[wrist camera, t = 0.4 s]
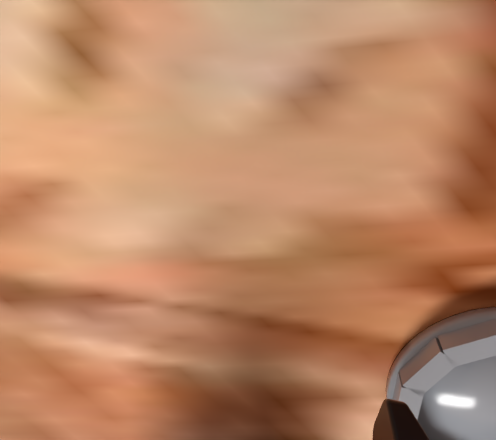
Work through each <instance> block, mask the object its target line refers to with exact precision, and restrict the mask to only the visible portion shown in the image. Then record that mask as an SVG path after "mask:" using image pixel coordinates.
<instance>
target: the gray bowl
mask: <svg viewBox="0 0 496 440" xmlns="http://www.w3.org/2000/svg"><path fill="white" fill-rule="evenodd" d="M386 399H393V400H397V401H402V402H404V403H406V404H407V405H408V406H409V408H410V410H411V411H412V413H413V414H414V416H415V417H416V419H417V421H418V422H419V424H420V425H421V427H422V429H423V430H424V432H425V433H426V435H427V436H428V438H429V440H496V307H489V308H482V309H476V310H471V311H467V312H463V313H459V314H457V315H454V316H451V317H448V318H446V319H443V320H441V321H439V322H437V323H435V324H433V325H431V326H430V327H428V328H427V329H425V330H424V331H422V332H420V333H419V334H418V335H417V336H416V337H414V338H413V339H412V340H411V341H410V342H409V343H408V344H407V345H406V346H405V347H404V348H403V349H402V350H401V352H400V353H399V355H398V356H397V357H396V359H395V360H394V363H393V365H392V367H391V369H390V371H389V375H388V378H387V384H386Z"/></svg>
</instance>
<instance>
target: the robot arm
mask: <svg viewBox="0 0 496 440" xmlns="http://www.w3.org/2000/svg"><path fill="white" fill-rule="evenodd" d="M373 440H429V438H428V436H427V435H426V433H425V432H424V430H423V429H422V427H421V425H420V424H419V422H418V421H417V419H416V417H415V416H414V414H413V413H412V411H411V410H410V408H409V406H408V405H407V404H406V403H404V402H402V401H397V400H393V399H385V400H384V401H383V403H382V406H381V408H380V411H379V413H378V416H377V418H376V421H375V424H374V428H373Z"/></svg>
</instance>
